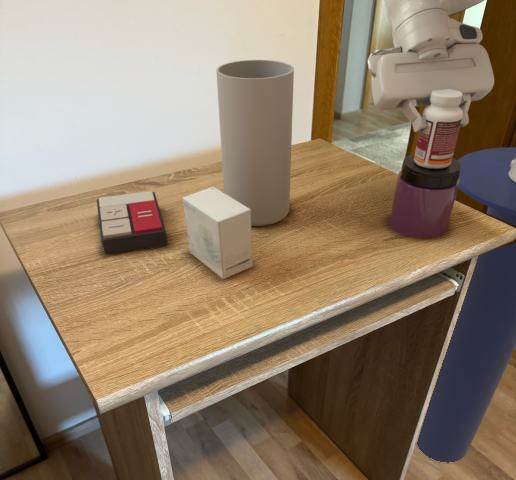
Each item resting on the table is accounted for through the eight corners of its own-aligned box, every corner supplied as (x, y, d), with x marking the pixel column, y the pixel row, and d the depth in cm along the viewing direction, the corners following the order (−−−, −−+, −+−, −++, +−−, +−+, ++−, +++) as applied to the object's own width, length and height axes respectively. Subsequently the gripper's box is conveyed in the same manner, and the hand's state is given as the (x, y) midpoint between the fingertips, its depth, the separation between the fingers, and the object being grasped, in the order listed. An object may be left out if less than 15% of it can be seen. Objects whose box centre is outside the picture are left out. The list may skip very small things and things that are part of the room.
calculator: (99, 236, 81) (95, 194, 91) (105, 258, 84) (100, 215, 94) (165, 227, 83) (153, 187, 94) (168, 248, 86) (157, 207, 97)
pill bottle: (455, 160, 84) (473, 90, 76) (444, 173, 80) (462, 100, 72) (419, 153, 86) (434, 85, 79) (407, 165, 82) (421, 94, 75)
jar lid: (435, 162, 89) (438, 149, 87) (469, 183, 82) (473, 169, 81) (390, 170, 87) (392, 157, 85) (421, 192, 80) (424, 178, 78)
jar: (424, 208, 96) (437, 151, 88) (458, 232, 88) (476, 173, 81) (378, 217, 93) (388, 160, 86) (410, 243, 86) (423, 183, 78)
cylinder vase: (266, 193, 101) (266, 56, 85) (301, 216, 94) (309, 71, 77) (213, 208, 97) (202, 66, 80) (246, 234, 89) (241, 83, 72)
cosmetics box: (187, 253, 84) (180, 196, 77) (218, 241, 87) (214, 185, 80) (221, 280, 78) (217, 220, 71) (254, 266, 80) (252, 207, 73)
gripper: (373, 36, 74) (392, 123, 73) (490, 28, 78) (509, 111, 77) (357, 63, 80) (375, 144, 80) (466, 54, 84) (483, 131, 84)
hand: (442, 127), depth 78 cm, fingers closed on pill bottle, 6 cm apart
